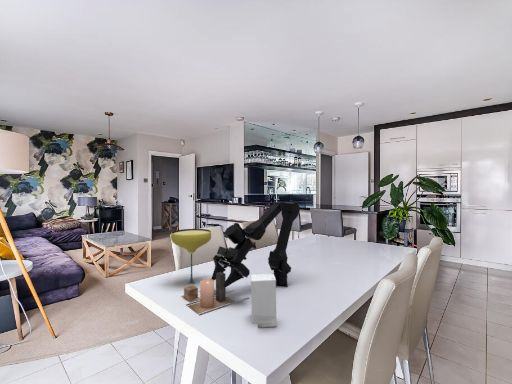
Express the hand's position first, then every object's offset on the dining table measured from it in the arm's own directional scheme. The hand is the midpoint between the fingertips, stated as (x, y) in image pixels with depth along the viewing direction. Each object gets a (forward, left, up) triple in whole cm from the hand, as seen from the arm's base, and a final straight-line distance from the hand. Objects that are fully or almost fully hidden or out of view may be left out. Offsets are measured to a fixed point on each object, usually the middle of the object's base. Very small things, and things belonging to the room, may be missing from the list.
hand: (217, 283), depth 101 cm
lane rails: (-1, -1, -8) cm, 8 cm away
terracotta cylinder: (+3, +3, -7) cm, 8 cm away
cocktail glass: (+17, -19, -8) cm, 27 cm away
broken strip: (+8, -6, -8) cm, 13 cm away
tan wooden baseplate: (+2, +2, -8) cm, 8 cm away
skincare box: (-18, +12, -8) cm, 23 cm away
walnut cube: (+11, -3, -7) cm, 14 cm away
